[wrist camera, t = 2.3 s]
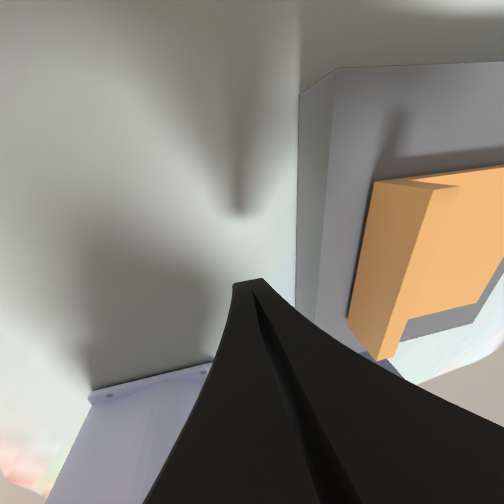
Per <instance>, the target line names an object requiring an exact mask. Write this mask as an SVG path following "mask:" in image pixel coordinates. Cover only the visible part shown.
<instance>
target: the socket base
mask: <svg viewBox="0 0 504 504" xmlns="http://www.w3.org/2000/svg"><path fill="white" fill-rule="evenodd" d="M497 165H504V61H497V62H472V63H448V64H424V65H400V66H375V67H351V68H336V69H335V70H333V71H332V72H331V73H329V74H328V75H326V76H325V77H324V78H322V79H321V80H319V81H318V82H317V83H315V84H314V85H312V86H311V87H310V88H308V89H307V90H305V91H304V92H303V93H301V94H300V95H299V135H298V187H297V238H296V290H295V309H296V310H297V311H298V312H300V313H301V314H302V315H303V316H305V317H306V318H307V319H308V320H310V321H311V322H312V323H314V324H315V325H316V326H318V327H319V328H320V329H322V330H323V331H325V332H326V333H327V334H329V335H330V336H332V337H333V338H335V339H336V340H338V341H339V342H341V343H342V344H344V345H346V346H347V347H349V348H350V349H352V350H354V351H355V352H357V353H360V352H364V351H367V350H366V348H365V347H364V346H363V345H362V344H361V342H360V341H359V340H358V339H357V337H356V336H355V335H354V334H353V333H352V331H351V330H350V329H349V328H348V326H347V320H348V315H349V310H350V305H351V300H352V295H353V289H354V284H355V279H356V274H357V269H358V264H359V259H360V253H361V248H362V243H363V238H364V233H365V228H366V222H367V217H368V212H369V207H370V202H371V197H372V191H373V186H374V182H376V181H383V180H391V179H398V178H406V177H414V176H421V175H429V174H437V173H444V172H452V171H459V170H467V169H475V168H482V167H490V166H497ZM503 273H504V257H503V259H502V260H501V262H500V264H499V266H498V267H497V269H496V271H495V272H494V274H493V276H492V277H491V279H490V281H489V283H488V284H487V286H486V288H485V289H484V291H483V293H482V294H481V296H480V298H479V300H478V301H477V303H473V304H469V305H465V306H461V307H457V308H453V309H449V310H445V311H441V312H437V313H432V314H428V315H424V316H420V317H416V318H412V319H408V321H407V323H406V326H405V328H404V331H403V333H402V336H401V338H400V341H399V342H402V341H406V340H410V339H414V338H418V337H421V336H425V335H429V334H433V333H437V332H440V331H444V330H448V329H452V328H456V327H459V326H463V325H467V324H471V323H473V322H474V320H475V318H476V317H477V315H478V313H479V312H480V310H481V308H482V307H483V305H484V304H485V302H486V300H487V299H488V297H489V295H490V294H491V292H492V291H493V289H494V287H495V286H496V284H497V282H498V281H499V279H500V278H501V276H502V274H503Z"/></svg>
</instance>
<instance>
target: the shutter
mask: <svg viewBox="0 0 504 504" xmlns="http://www.w3.org/2000/svg"><path fill="white" fill-rule="evenodd" d="M503 257H504V165H497V166H490V167H482V168H475V169H467V170H459V171H452V172H444V173H437V174H429V175H421V176H414V177H406V178H398V179H391V180H383V181H376V182H374V186H373V191H372V197H371V202H370V207H369V212H368V217H367V222H366V228H365V233H364V238H363V243H362V248H361V253H360V259H359V264H358V269H357V274H356V279H355V284H354V289H353V295H352V300H351V305H350V310H349V315H348V320H347V326H348V328H349V329H350V330H351V331H352V333H353V334H354V335H355V336H356V337H357V339H358V340H359V341H360V342H361V344H362V345H363V346H364V347H365V348H366V350H367V351H368V352H369V353H370V355H371V356H372V357H373V358H374V359H375V361H380V360H383V359H387V358H391V357H393V356H394V354H395V351H396V348H397V346H398V343H399V341H400V338H401V336H402V333H403V331H404V328H405V326H406V323H407V321H408V319H412V318H416V317H420V316H424V315H428V314H432V313H437V312H441V311H445V310H449V309H453V308H457V307H461V306H465V305H469V304H473V303H477V301H478V300H479V298H480V296H481V294H482V293H483V291H484V289H485V288H486V286H487V284H488V283H489V281H490V279H491V277H492V276H493V274H494V272H495V271H496V269H497V267H498V266H499V264H500V262H501V260H502V259H503Z"/></svg>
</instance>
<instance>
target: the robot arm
mask: <svg viewBox="0 0 504 504" xmlns="http://www.w3.org/2000/svg"><path fill="white" fill-rule="evenodd" d="M232 288H233V291H232V300H231V306H230V310H229V314H228V318H227V322H226V326H225V329H224V332H223V335H222V338H221V341H220V344H219V347H218V350H217V353H216V355H215V358H214V361H213V363H206V364H202V365H198V366H194V367H190V368H186V369H182V370H178V371H173V372H169V373H165V374H161V375H157V376H153V377H149V378H145V379H140V380H136V381H132V382H128V383H124V384H120V385H116V386H112V387H107V388H103V389H99V390H95V391H93V392H91V393H90V395H89V397H88V401H89V402H90V403H91V404H92V407H91V409H90V411H89V413H88V415H87V417H86V419H85V421H84V423H83V425H82V427H81V429H80V432H79V434H78V436H77V438H76V440H75V442H74V444H73V446H72V448H71V450H70V452H69V455H68V457H67V459H66V461H65V463H64V465H63V467H62V469H61V471H60V473H59V475H58V477H57V480H56V482H55V484H54V486H53V488H52V490H51V492H50V494H49V496H48V498H47V500H46V503H45V504H504V427H502V426H500V425H498V424H496V423H493V422H491V421H489V420H487V419H485V418H482V417H480V416H478V415H476V414H474V413H472V412H470V411H468V410H466V409H463V408H461V407H459V406H457V405H455V404H452V403H450V402H448V401H446V400H444V399H442V398H440V397H438V396H436V395H434V394H432V393H430V392H428V391H426V390H424V389H422V388H420V387H418V386H416V385H414V384H413V383H411V382H409V381H407V380H405V379H403V378H401V377H399V376H397V375H395V374H394V373H392V372H390V371H388V370H386V369H385V368H383V367H381V366H379V365H378V364H376V363H374V362H372V361H371V360H369V359H367V358H365V357H364V356H362V355H360V354H358V353H357V352H355V351H354V350H352V349H350V348H349V347H347V346H346V345H344V344H342V343H341V342H339V341H338V340H336V339H335V338H333V337H332V336H330V335H329V334H327V333H326V332H325V331H323V330H322V329H320V328H319V327H318V326H316V325H315V324H314V323H312V322H311V321H310V320H308V319H307V318H306V317H305V316H303V315H302V314H301V313H300V312H298V311H297V310H296V309H295V308H294V307H293V306H291V305H290V304H289V303H288V302H287V301H286V300H285V299H283V298H282V297H281V296H280V295H279V294H278V293H277V292H276V291H275V290H274V289H273V288H272V287H271V286H270V285H269V284H268V283H267V282H266V281H265V280H264V279H263V278H259V279H253V280H248V281H243V282H238V283H234V284H233V286H232Z"/></svg>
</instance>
